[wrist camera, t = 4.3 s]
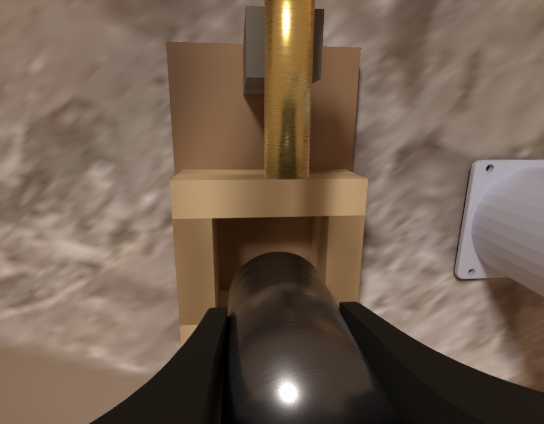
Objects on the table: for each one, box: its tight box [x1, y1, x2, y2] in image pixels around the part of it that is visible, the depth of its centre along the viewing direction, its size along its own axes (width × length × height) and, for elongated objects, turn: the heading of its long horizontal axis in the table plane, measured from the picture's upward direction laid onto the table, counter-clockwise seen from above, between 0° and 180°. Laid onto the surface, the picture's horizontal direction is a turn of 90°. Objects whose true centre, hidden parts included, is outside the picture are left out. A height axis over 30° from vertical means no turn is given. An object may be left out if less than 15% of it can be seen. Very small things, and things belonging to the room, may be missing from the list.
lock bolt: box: [264, 0, 315, 180], centre depth 9 cm, size 2×9×2 cm, turn 179°
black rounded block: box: [221, 251, 402, 424], centre depth 10 cm, size 4×4×7 cm
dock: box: [166, 6, 368, 347], centre depth 16 cm, size 10×17×8 cm, turn 179°
